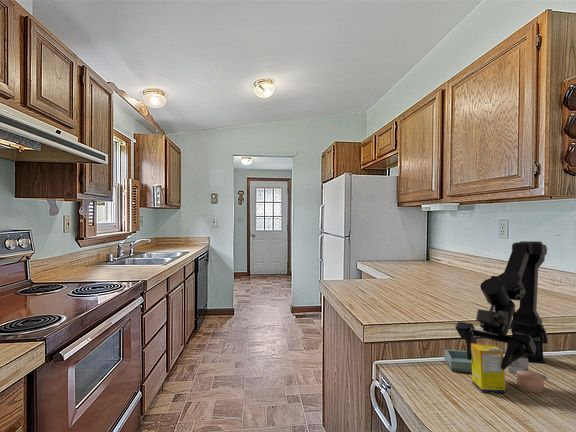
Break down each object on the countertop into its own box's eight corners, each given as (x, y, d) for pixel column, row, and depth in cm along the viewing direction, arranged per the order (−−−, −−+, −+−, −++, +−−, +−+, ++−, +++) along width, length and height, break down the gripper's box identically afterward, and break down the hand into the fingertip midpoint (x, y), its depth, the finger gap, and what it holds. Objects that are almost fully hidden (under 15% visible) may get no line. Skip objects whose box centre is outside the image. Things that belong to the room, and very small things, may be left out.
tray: (480, 361, 109) (479, 352, 109) (490, 374, 99) (490, 364, 99) (444, 358, 112) (444, 349, 112) (451, 371, 101) (450, 360, 102)
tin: (524, 369, 102) (523, 354, 102) (531, 376, 97) (531, 360, 98) (506, 368, 104) (505, 353, 104) (512, 374, 99) (511, 359, 99)
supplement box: (494, 383, 93) (492, 343, 93) (505, 393, 87) (504, 350, 88) (471, 382, 93) (470, 342, 94) (481, 392, 88) (480, 350, 88)
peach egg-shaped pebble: (538, 384, 92) (537, 371, 92) (548, 394, 86) (548, 380, 87) (513, 382, 94) (512, 369, 94) (522, 392, 88) (521, 378, 88)
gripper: (457, 293, 101) (439, 338, 94) (530, 303, 87) (515, 357, 79) (470, 316, 106) (454, 360, 98) (541, 329, 91) (529, 382, 84)
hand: (484, 364), depth 90 cm, fingers closed on supplement box, 8 cm apart
